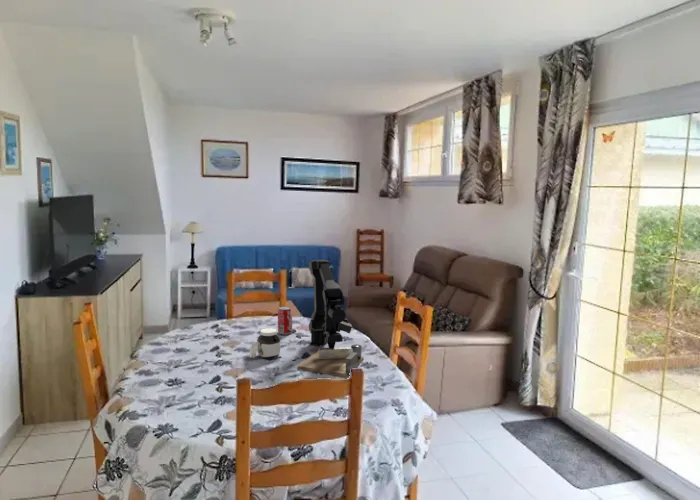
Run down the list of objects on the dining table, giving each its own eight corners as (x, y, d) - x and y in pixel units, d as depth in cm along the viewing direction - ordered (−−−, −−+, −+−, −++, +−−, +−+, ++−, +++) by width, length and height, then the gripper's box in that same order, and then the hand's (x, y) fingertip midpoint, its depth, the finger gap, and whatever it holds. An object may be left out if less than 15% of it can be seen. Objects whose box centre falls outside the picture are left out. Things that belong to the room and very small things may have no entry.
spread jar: (282, 357, 214) (282, 331, 212) (261, 364, 206) (261, 336, 204) (265, 350, 222) (265, 325, 220) (244, 356, 214) (244, 330, 212)
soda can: (289, 335, 244) (289, 310, 242) (275, 334, 245) (275, 309, 244) (294, 331, 251) (294, 306, 249) (280, 330, 252) (280, 305, 251)
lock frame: (297, 368, 201) (297, 352, 200) (319, 352, 220) (319, 337, 220) (348, 377, 193) (349, 360, 192) (366, 359, 213) (366, 344, 212)
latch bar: (360, 354, 214) (360, 344, 213) (362, 358, 210) (362, 347, 209) (318, 356, 210) (318, 346, 210) (319, 360, 206) (319, 349, 206)
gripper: (355, 321, 202) (354, 358, 204) (346, 309, 220) (346, 343, 222) (327, 322, 200) (327, 359, 202) (321, 310, 218) (321, 344, 220)
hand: (331, 351), depth 212 cm, fingers closed
